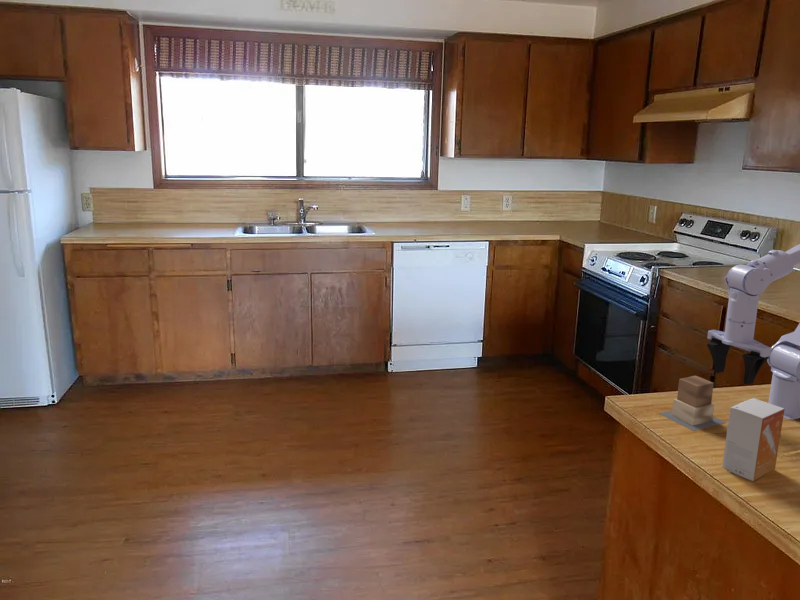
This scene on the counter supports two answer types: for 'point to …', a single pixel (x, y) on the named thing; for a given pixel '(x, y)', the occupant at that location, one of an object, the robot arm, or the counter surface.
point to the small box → (753, 438)
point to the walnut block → (695, 391)
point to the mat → (689, 426)
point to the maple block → (692, 412)
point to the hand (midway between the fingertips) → (733, 377)
